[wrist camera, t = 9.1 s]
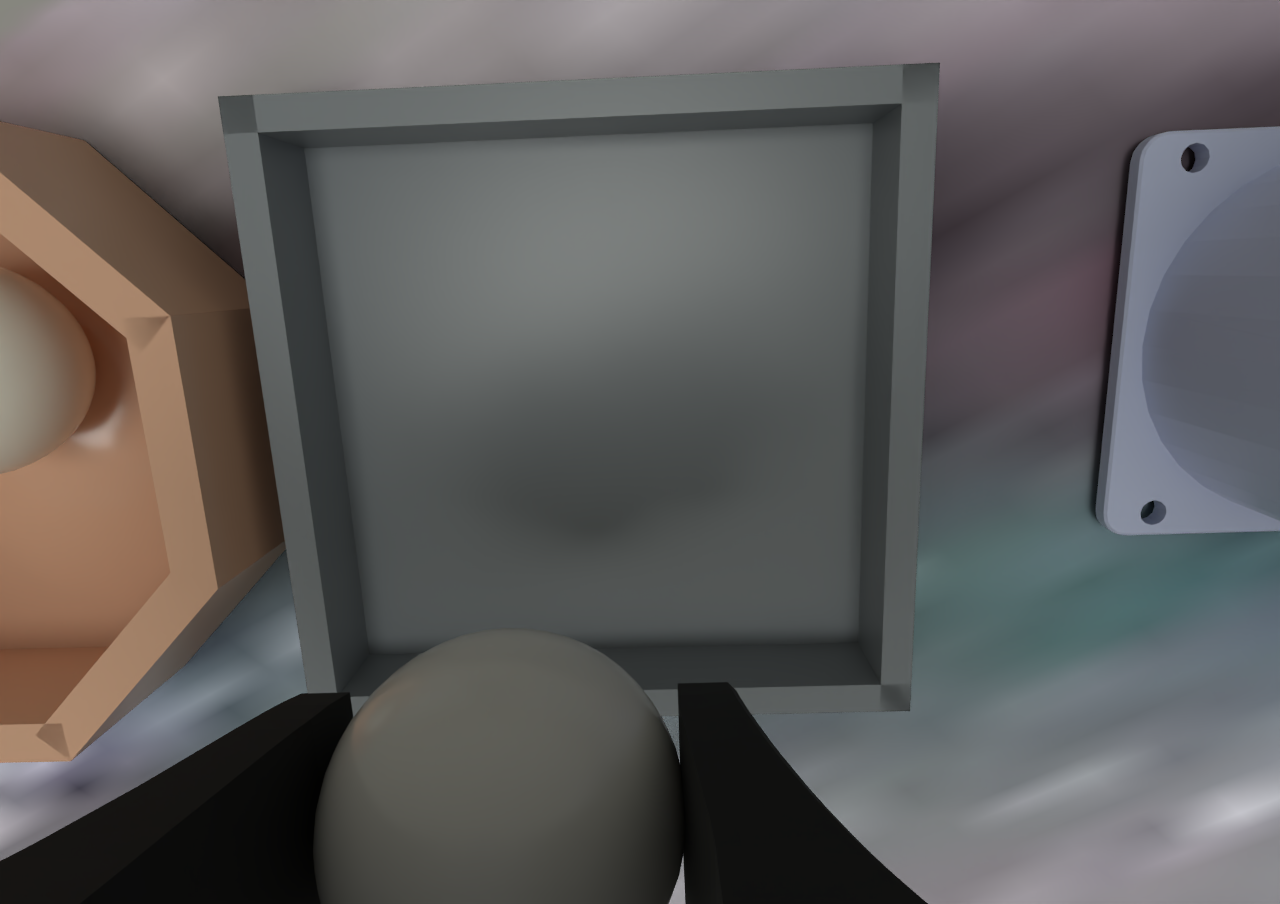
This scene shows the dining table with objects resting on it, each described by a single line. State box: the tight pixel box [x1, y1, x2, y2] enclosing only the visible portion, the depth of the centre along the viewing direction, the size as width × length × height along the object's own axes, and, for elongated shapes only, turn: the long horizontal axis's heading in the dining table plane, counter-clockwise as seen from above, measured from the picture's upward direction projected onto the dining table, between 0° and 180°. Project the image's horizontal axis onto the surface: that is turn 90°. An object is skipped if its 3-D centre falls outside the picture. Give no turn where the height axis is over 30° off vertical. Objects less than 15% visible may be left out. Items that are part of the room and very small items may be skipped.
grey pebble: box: [313, 628, 685, 904], centre depth 9 cm, size 4×4×4 cm
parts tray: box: [218, 63, 940, 717], centre depth 15 cm, size 12×12×2 cm
